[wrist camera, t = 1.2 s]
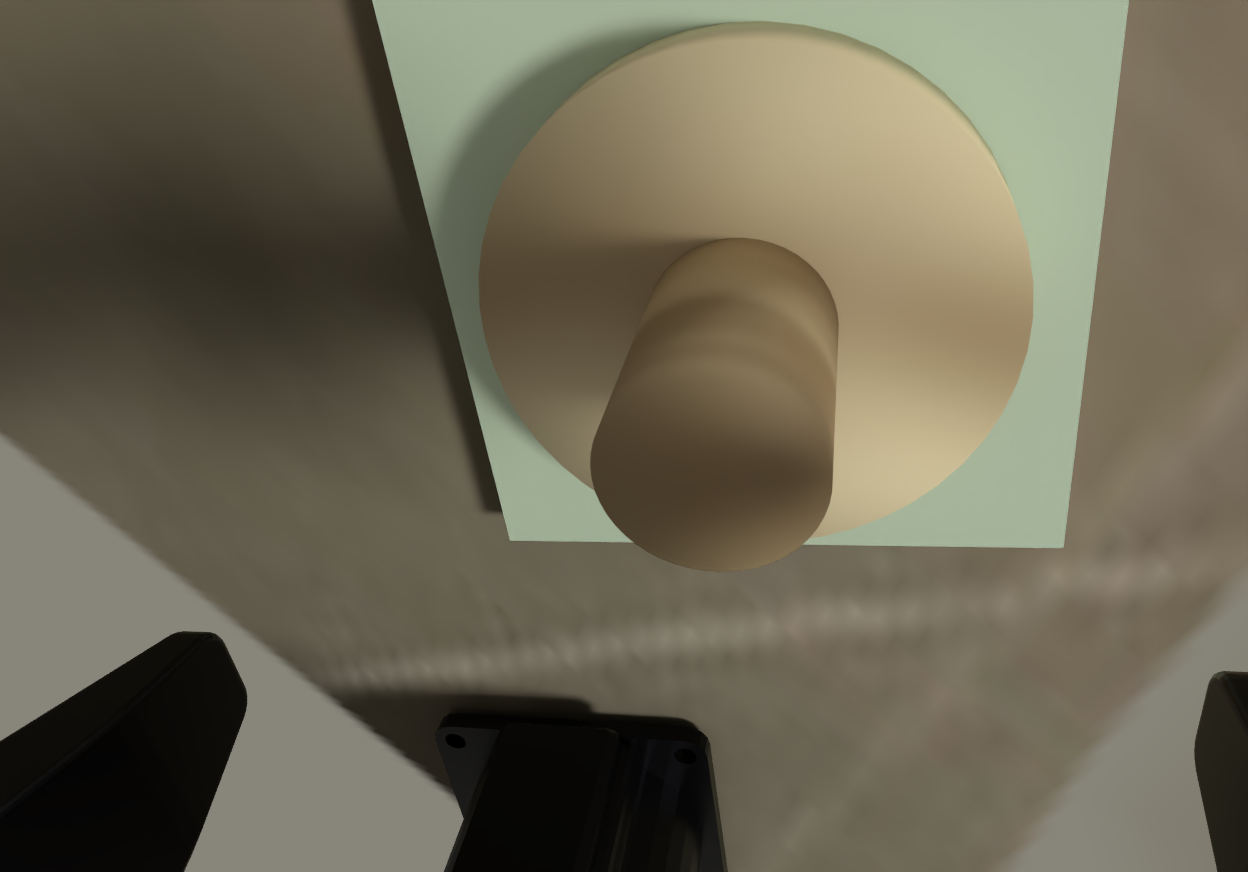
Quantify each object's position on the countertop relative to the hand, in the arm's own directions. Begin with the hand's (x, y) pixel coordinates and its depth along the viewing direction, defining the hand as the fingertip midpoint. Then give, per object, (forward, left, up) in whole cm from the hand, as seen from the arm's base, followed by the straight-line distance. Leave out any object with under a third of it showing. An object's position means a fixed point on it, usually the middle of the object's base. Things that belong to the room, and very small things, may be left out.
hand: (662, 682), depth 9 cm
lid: (0, 0, -8) cm, 8 cm away
